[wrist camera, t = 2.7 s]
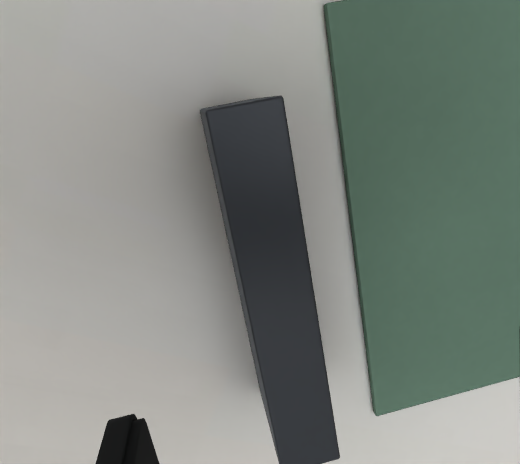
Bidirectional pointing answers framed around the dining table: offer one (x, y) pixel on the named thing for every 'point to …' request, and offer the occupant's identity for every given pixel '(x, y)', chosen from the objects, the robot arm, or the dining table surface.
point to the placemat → (432, 189)
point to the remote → (273, 273)
